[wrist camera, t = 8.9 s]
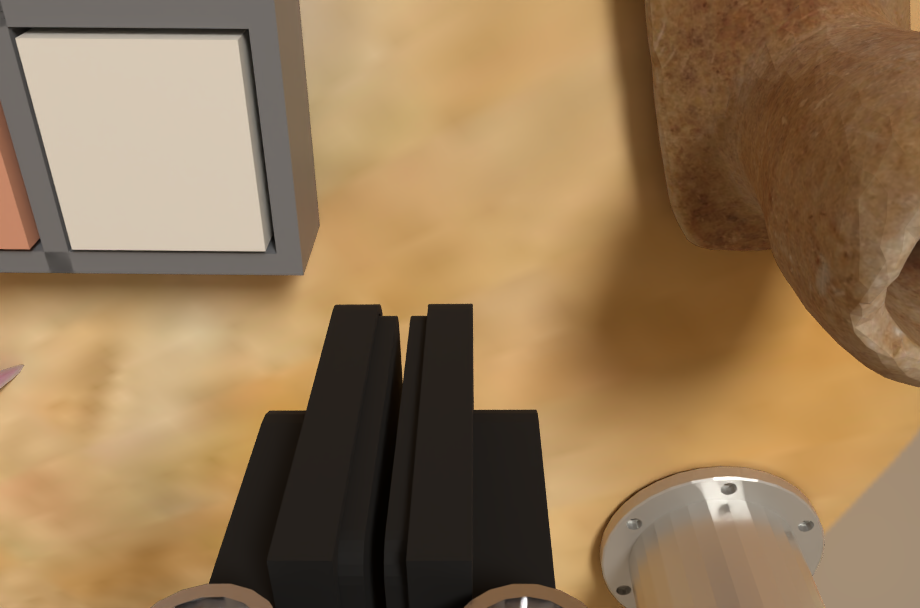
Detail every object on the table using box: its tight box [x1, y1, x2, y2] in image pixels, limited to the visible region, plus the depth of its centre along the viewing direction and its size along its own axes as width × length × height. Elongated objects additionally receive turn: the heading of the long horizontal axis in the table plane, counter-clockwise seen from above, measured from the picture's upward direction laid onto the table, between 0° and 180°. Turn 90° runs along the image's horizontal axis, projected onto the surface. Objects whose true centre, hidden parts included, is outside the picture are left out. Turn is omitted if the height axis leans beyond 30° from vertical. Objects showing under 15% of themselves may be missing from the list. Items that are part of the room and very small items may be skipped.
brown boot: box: [644, 0, 920, 387], centre depth 29 cm, size 15×12×15 cm
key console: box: [0, 0, 320, 275], centre depth 34 cm, size 11×20×4 cm, turn 90°
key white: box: [15, 27, 274, 251], centre depth 33 cm, size 8×8×2 cm
